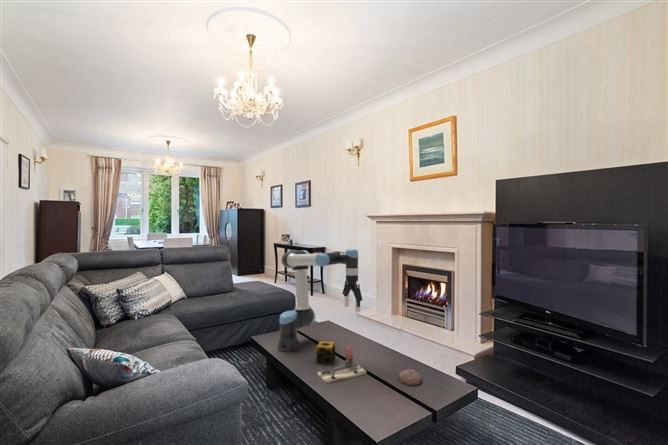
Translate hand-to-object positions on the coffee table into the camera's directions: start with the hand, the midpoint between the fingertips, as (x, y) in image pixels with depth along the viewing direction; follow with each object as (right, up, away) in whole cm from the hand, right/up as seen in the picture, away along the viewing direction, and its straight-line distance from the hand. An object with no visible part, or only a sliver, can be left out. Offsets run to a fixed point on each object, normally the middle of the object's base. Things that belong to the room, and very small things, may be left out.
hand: (352, 309), depth 198 cm
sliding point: (-1, -30, -14) cm, 33 cm away
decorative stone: (+30, -32, -24) cm, 50 cm away
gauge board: (-7, -32, -16) cm, 36 cm away
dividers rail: (-6, -31, -17) cm, 36 cm away
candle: (-16, -32, +1) cm, 36 cm away
